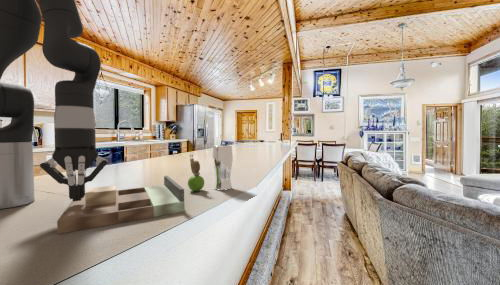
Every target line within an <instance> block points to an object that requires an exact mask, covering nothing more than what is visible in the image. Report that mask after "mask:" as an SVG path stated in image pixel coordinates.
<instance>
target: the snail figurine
mask: <svg viewBox="0 0 500 285" xmlns="http://www.w3.org/2000/svg"><path fill="white" fill-rule="evenodd" d="M189 157H190V170H191V174H193V175H191V176H190V178H189V179H188V181H187V186H188V188H189V189H190V191H193V192H198V191H199V192H200V191H201V190H202V189H203V188H204V186H205V179H204V178H203V176H201V175H200V169H201V163H200V161H199V160H197V159H196V160H194V158H193V157H194V154H190V155H189Z"/></svg>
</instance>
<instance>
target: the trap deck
mask: <svg viewBox="0 0 500 285" xmlns="http://www.w3.org/2000/svg"><path fill="white" fill-rule="evenodd" d="M163 181H164V182H163V185H162V184H160V185H153V186H145V187H136V188H127V189H126V188H125V189H118V190H117V189H116V202H114V203H107V204H100V205H93V206H86V202H85V196H84V197H83V198H82V199H81V201H73V199H71V201H70V203H69V204H68V206H67V207H66V208H65V209H64V211H63V213H62V214H61V215H60V217H59V218H58V220H57V221H56V224H57V225H56V226H57V230H56V231H57V235H62V234H66V233H71V232H77V231H78V232H79V231H82V230H88V229H94V228H99V227H104V226H110V225H115V224H121V223H122V224H123V223H126V222H132V221H133V222H134V221H139V220H143V219H148V218H154V217H160V216H165V215H170V214H171V215H172V214H176V213H183V212H185V188H183V187H182V186H181V185H180V184H178V182H176V181H174V180H173V178H171V177H169V176H168V175H164V176H163Z"/></svg>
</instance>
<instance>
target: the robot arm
mask: <svg viewBox="0 0 500 285" xmlns="http://www.w3.org/2000/svg"><path fill="white" fill-rule="evenodd" d="M42 21H43V40H42V48H41V50H42V54H43V56H44V58H45V60H46V61H47V62H48V63H49V64H50V65H52V66H53V67H55V68H59V69H62V70H66V71H67V72H68V71H69V72H71V73H74V77H73V78H72V80H71V79H70V80H68V79H66V80H59V81H57V82H56V83H55V85H54V102H55V103H54V104H55V105H54V106H55V107H54V113H53V114H54V115H53V123H54V126H53V127H54V151H53V153H52V155H51V158H50V159H48V160H46V161H44V162H42V163H39V167H40V169H42V170H43V171H44V172H45V173H47V174H48V176H50V177H51V178H52V179H54V180H55V181H56V183H58V184H60V185H61V184H62V185H67V187H68V198H69V200H73V201H81V199H82V198H83V197H84V196H85V193H86V183H89V182H92V181H94V179H95V178H96V177H97V175H99V174H100V172H101V171H102V170H103V169H104V168H105V166H107V164H108V162H109V161H108V159H106V158H103V157H102V156H99V152H98V150H97V148H96V145H97V144H96V128H97V126H96V125H97V124H96V117H95V111H94V108H95V107H94V91H95V87H96V85H97V81H98V78H99V74H100V71H101V68H102V67H101V65H102V64H101V62H102V60H101V57H100V56H99V53H98V52H97V50H96V49H94V48H93V47H91V46H89V45H88V44H85V43H83V42H82V43H81V42H79V41H78V40H75V39H76V38H78V37H81V35H82V34H83V31H84V27H83V22H82V19H81V17H80V12H79V10H78V6H77V3H76V0H0V80H1V79H2V76H3V75H4V73H5V71H6V69H7V68H8V67H9V66H10V65H12V63H13V62H15V61H16V60H17V59H18V58H20V57H21V56H23V55H25V54H26V53H27V52H29V51H30V50H31V49H32V48H33V47H34V46H36V44H37V43H38V40H39V36H40V32H41V26H42ZM34 114H35V98H34V94H33V92H32V91H31V89H30V88H29V87H27V86H24V85H18V84H11V83H5V82H0V118H10V123H8V124H7V125H5V126H3V127H0V209H9V208H14V207H19V206H25V205H27V204H31V203H33V202H35V200H36V199H35V182H34V181H35V177H34V176H35V171H34V170H35V169H34V152H33V151H34V150H33V149H34V148H33V134H34V124H35V123H34V118H35V117H34V116H35V115H34ZM95 161H96V162H95ZM94 162H95V166H96V167H95V168H94V170H93V171H91V173H90V174H88V175H87V170H88V168H90V167H91V166H92V164H93V163H94ZM58 165H59V166H60V167H61V168H62V170H64V171H65V173H66V176H65V175H64V174H63V172H61V171H59V170H58V168H57V166H58Z"/></svg>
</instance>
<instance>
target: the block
mask: <svg viewBox="0 0 500 285" xmlns="http://www.w3.org/2000/svg"><path fill="white" fill-rule="evenodd" d="M116 188H117V186H116V184H115V185H108V186H98V187H97V186H96V187H90V188H89V187H88V188H87V190H85V202H86V206H93V205H100V204H107V203H114V202H116V190H117V189H116Z"/></svg>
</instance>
